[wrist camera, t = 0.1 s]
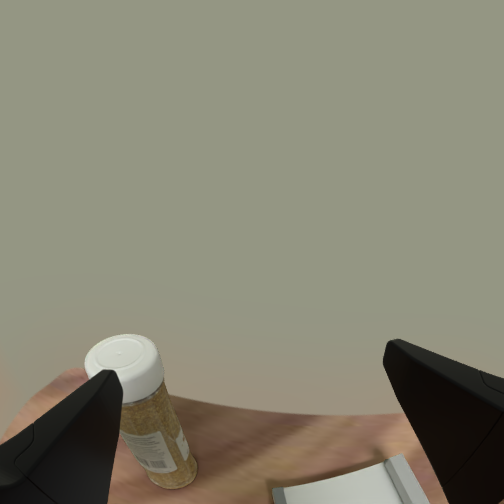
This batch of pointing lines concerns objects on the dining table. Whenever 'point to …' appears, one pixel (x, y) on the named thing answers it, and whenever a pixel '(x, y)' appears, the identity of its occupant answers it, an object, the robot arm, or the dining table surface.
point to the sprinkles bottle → (146, 408)
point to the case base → (360, 487)
